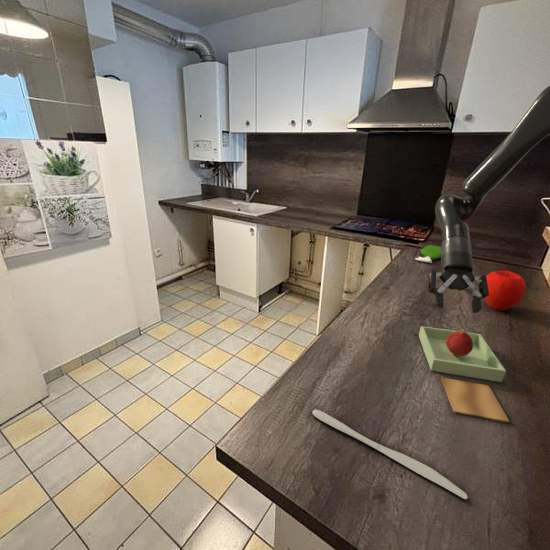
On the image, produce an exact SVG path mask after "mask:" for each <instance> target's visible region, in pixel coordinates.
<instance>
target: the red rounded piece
mask: <svg viewBox="0 0 550 550" xmlns="http://www.w3.org/2000/svg"><path fill="white" fill-rule="evenodd" d="M456 331H457V332H453V333H452V334H450V335H449V336H448V337H447V340H446V345H447V348H448V349H449V350H450V352H451V353H453V355H454V356H465V355H467V354H469V353H470V352H471V351H472V349H473V341H472V339H471V337H470V336H469V335H468V334H467V333H466V330H465V329H463V328H462V329H459V330H456Z"/></svg>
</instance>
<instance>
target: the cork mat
mask: <svg viewBox="0 0 550 550" xmlns="http://www.w3.org/2000/svg"><path fill="white" fill-rule="evenodd" d="M440 380H441V383H442V386H443V388H444V391H445V393H446V397H447V398H448V399H447V400H448V401H449V404H450V407H451V409H452V412H453V413H455V414H460V415H465V416H470V417H476V418H481V419H486V420H491V421H496V422H502V423H508V424H510V420H509V418H508V416H507V414H506V413H505V411H504V409H503V407H502V406H501V403H500V402H499V399H498V398H497V397H496V395H495V393H494V392H493V389H492V388H491V386H490V385H488V384H482V383H476V382H470V381H464V380H459V379H458V380H457V379H452V378H448V377H440Z"/></svg>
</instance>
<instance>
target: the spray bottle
mask: <svg viewBox="0 0 550 550" xmlns="http://www.w3.org/2000/svg"><path fill="white" fill-rule="evenodd" d="M420 253H421V255H423V256H424V257H421V256H420V255H419V256H418V257H415V258H414V259H415V261H418V262H423V263H429V264H432V263H433V261H435V260H439V259H441V246H437V245H433V244H428V245H426V246H424V247H423V248H421V250H420Z"/></svg>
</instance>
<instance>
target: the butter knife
mask: <svg viewBox="0 0 550 550" xmlns="http://www.w3.org/2000/svg"><path fill="white" fill-rule="evenodd" d="M311 414H312V415H313V416H314V417H315V418H317V419H318V420H320V421H322V422H323V423H325V424H327V425H328V426H331V428H334V429H336V430H337V431H339V432H342V433H344V434H346V435H348V436H349V437H352V438H354V439H356V440H358V441H359V442H362V443H364V444H365V445H367V446H370V447H371V448H373V449H375V450H377V451H378V452H380V453H382V454H384V455H385V456H387V457H388V458H390V459H392V460H394V461H396V462H397V463H399V464H401V465H402V466H404V467H406V468H408V469H409V470H411V471H412V472H415V473H416V474H418V475H420V476H422V477H423V478H425V479H428V480H429V481H431V482H433V483H435V484H437V485H439V486H441V487H442V488H443V489H446V490H448V491H450V492H451V493H453V494H455V495H456V496H458V497H459V498H462V499H464V500H467V499H468V497H469V496H468V495H467V493H466V492H465V491H463V490H462V489H460V488H459V487H458V486H457V485H455V484H454V483H453V482H451V480H450V479H447V478H446V477H445V476H443V475H442V474H440V473H439V472H437V471H436V470H435V469H433V468H432V467H431V466H428V465H426V464H425V463H422V462H420V461H418V460H417V459H415V458H412V457H410V456H409V455H406V454H404V453H401V452H399V451H396V450H395V449H391V448H388V447H386V446H384V445H382V444H380V443H378V442H376V441H373V440H371V439H369V438H367V437H366V436H364V435H362V434H361V433H359V432H357V431H355V430H354V429H352V428H350V427H349V426H348V425H346V424H344V423H343V422H342V421H339V420H338V419H336V418H334V417H333V416H331V415H329V414H327V413H326V412H324V411H322V410H320V409H316V408H315V409H313V410H312V413H311Z"/></svg>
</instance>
